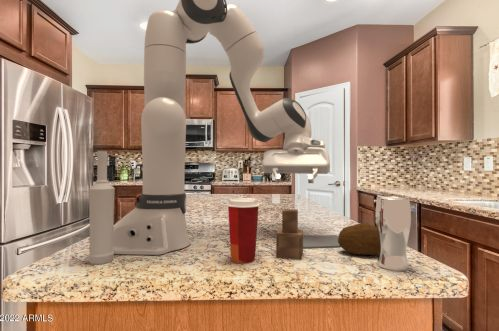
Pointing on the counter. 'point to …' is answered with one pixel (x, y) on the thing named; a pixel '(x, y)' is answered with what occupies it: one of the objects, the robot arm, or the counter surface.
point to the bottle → (101, 215)
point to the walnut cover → (289, 236)
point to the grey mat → (320, 241)
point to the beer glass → (393, 231)
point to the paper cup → (243, 228)
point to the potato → (359, 239)
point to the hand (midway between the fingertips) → (294, 181)
